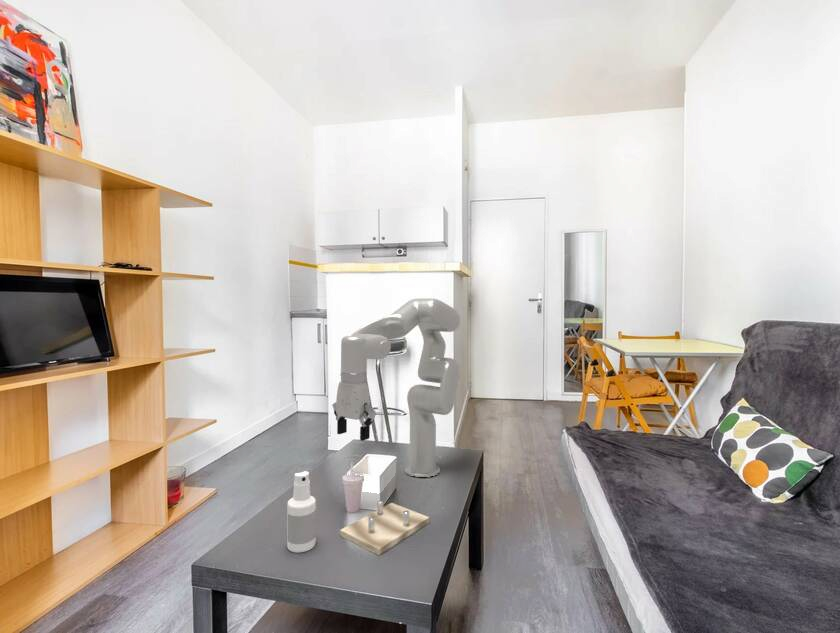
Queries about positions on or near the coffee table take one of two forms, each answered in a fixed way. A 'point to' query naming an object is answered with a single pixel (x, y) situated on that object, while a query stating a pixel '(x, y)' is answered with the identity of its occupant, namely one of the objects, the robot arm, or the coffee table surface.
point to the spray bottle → (301, 516)
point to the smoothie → (353, 490)
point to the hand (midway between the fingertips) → (353, 436)
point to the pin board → (384, 527)
